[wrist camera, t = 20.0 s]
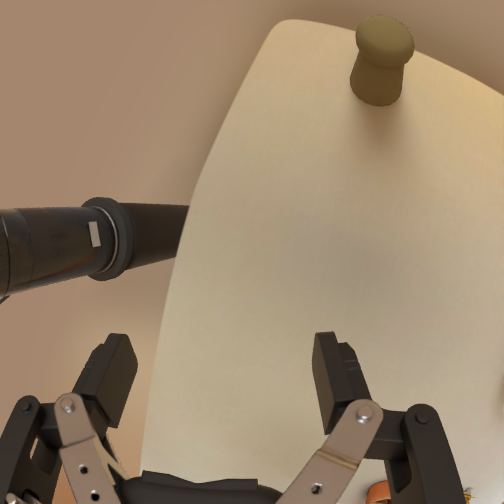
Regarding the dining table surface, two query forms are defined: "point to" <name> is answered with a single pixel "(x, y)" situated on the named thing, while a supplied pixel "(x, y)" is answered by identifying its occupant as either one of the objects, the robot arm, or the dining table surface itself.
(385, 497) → the toy tea set
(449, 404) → the dining table surface
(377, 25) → the cork
